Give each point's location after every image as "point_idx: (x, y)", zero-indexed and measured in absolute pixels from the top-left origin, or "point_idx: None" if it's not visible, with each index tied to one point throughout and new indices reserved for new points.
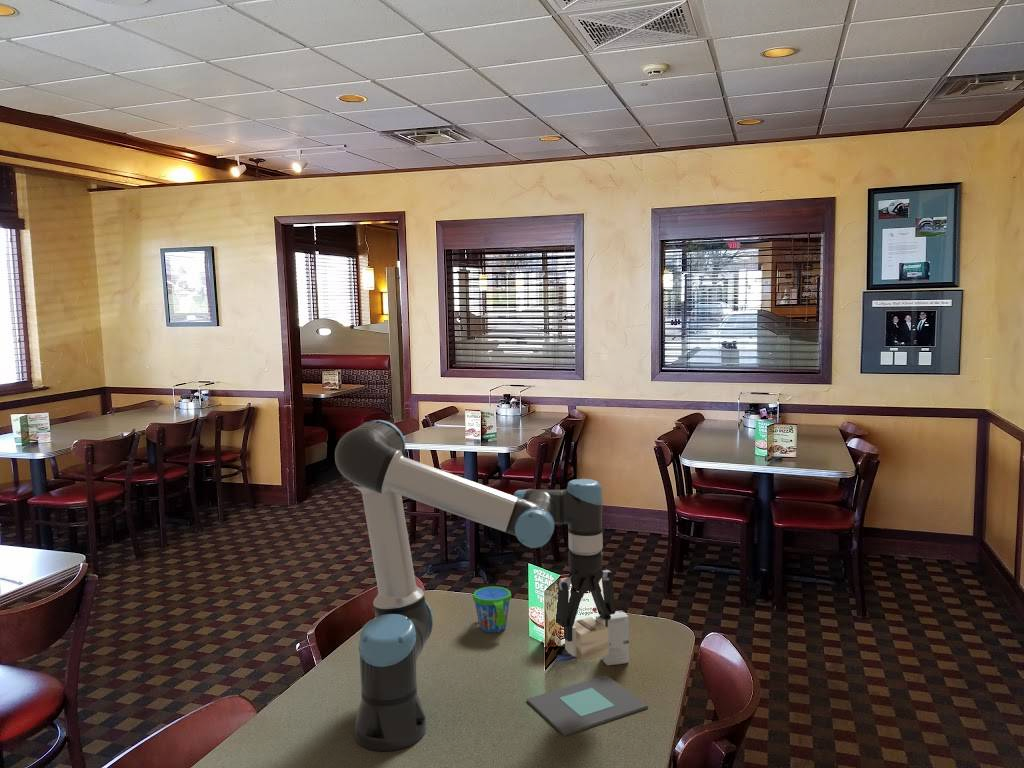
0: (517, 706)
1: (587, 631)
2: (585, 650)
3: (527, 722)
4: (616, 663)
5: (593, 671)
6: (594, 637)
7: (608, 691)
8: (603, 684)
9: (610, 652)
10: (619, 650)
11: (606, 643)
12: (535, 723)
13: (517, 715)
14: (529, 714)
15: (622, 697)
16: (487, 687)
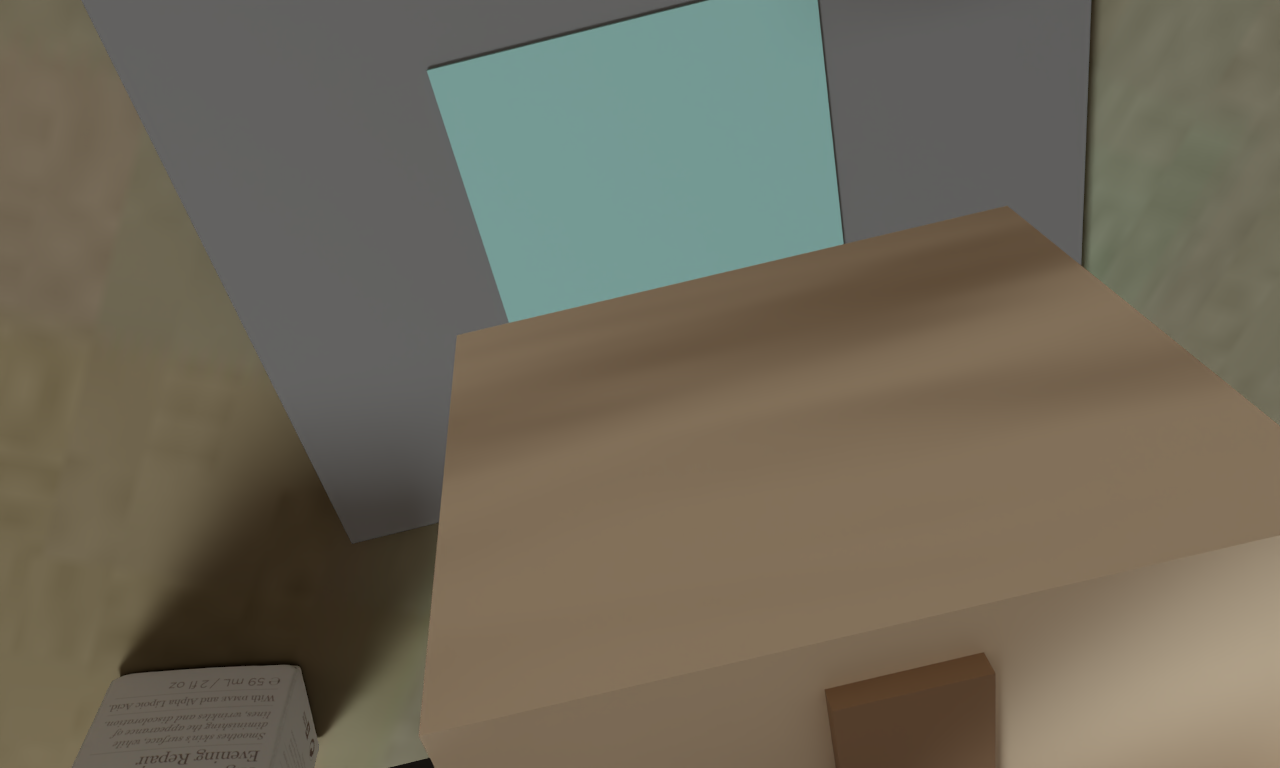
0: (1162, 309)
1: (1093, 659)
2: (1017, 307)
3: (1230, 68)
4: (218, 672)
5: (427, 615)
6: (872, 500)
7: (409, 317)
8: (417, 426)
9: (247, 750)
10: (160, 762)
11: (500, 445)
12: (1184, 32)
13: (1234, 191)
14: (1149, 179)
15: (307, 194)
16: None
